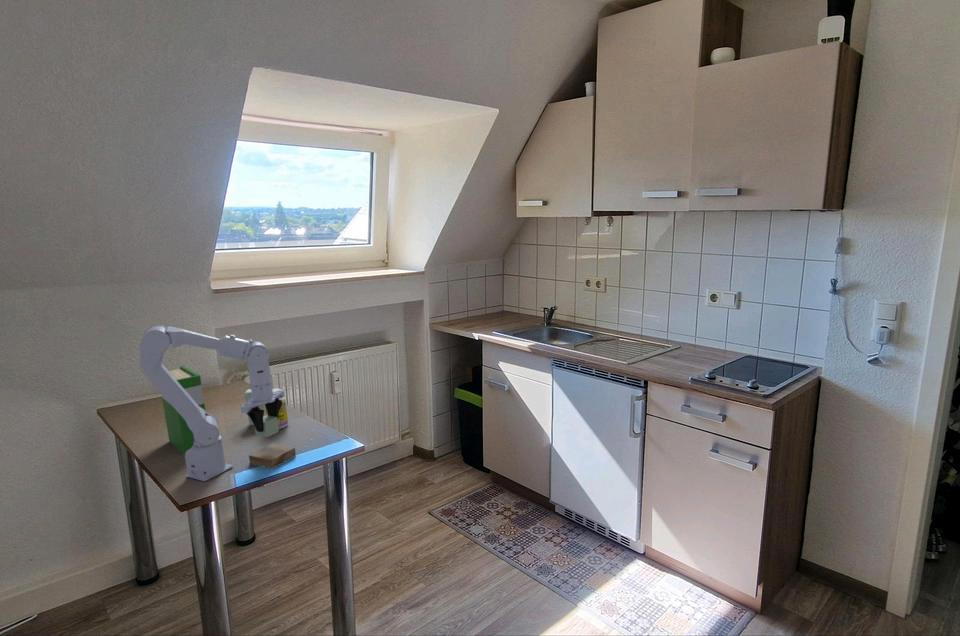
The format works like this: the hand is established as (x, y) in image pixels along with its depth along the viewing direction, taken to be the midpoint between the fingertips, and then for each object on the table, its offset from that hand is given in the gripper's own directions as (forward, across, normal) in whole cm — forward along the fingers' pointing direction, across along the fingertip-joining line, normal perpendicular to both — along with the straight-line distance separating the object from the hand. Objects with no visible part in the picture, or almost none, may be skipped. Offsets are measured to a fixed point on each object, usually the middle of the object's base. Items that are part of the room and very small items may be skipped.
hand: (266, 428), depth 162 cm
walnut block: (+10, -1, -2) cm, 10 cm away
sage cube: (+2, 0, 0) cm, 2 cm away
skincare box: (+10, +20, +26) cm, 34 cm away
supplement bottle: (+10, +20, +17) cm, 28 cm away
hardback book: (+10, -2, +33) cm, 34 cm away
